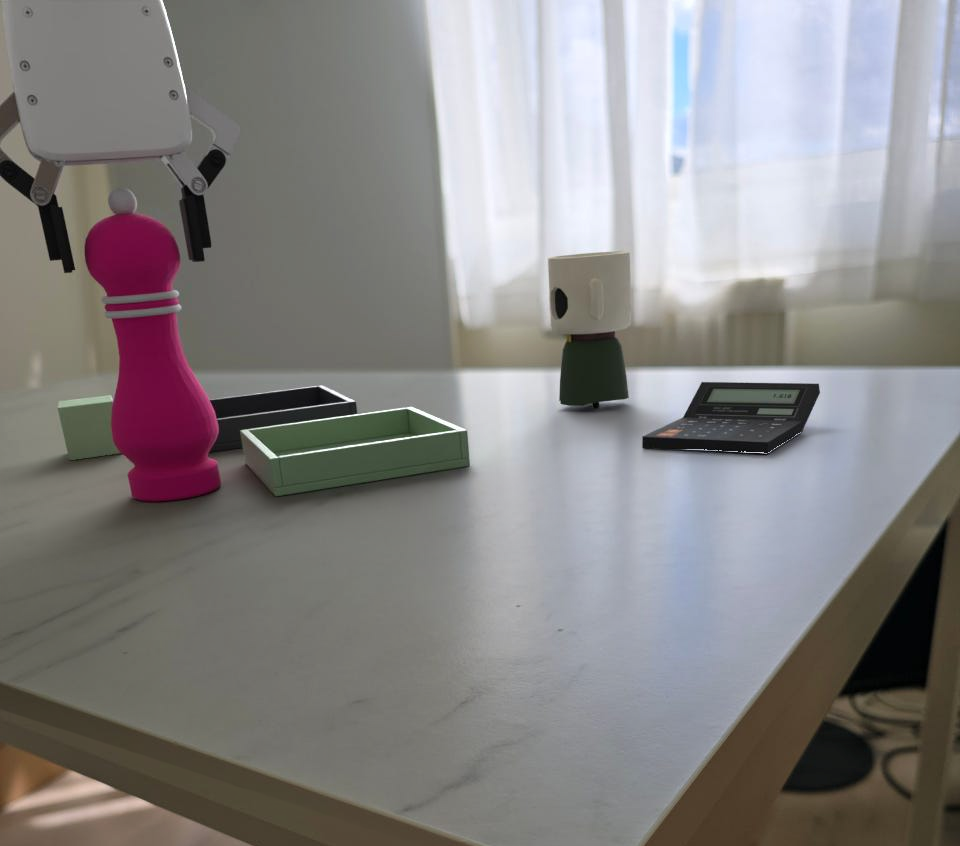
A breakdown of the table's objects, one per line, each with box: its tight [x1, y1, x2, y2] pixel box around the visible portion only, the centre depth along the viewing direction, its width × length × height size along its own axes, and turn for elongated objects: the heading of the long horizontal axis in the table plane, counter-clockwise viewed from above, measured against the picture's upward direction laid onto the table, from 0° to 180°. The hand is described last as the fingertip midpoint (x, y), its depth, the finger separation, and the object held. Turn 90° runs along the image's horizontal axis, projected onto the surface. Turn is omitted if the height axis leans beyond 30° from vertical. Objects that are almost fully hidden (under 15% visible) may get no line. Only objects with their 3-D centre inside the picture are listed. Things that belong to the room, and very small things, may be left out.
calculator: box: [641, 381, 821, 453], centre depth 76 cm, size 9×12×3 cm
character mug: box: [547, 250, 632, 410], centre depth 90 cm, size 11×7×13 cm, turn 1°
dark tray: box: [209, 384, 358, 453], centre depth 93 cm, size 14×13×3 cm
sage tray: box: [240, 406, 471, 497], centre depth 77 cm, size 14×13×3 cm
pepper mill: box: [83, 187, 222, 502], centre depth 70 cm, size 7×7×20 cm
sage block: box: [57, 394, 122, 461], centre depth 89 cm, size 4×4×4 cm
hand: (134, 265), depth 68 cm, fingers open, 7 cm apart
